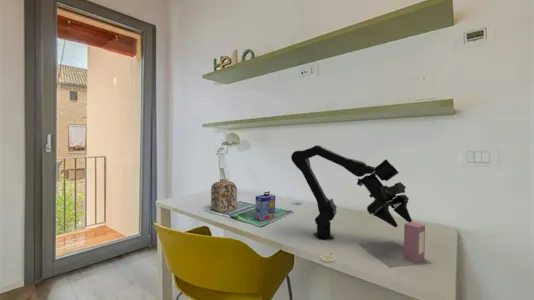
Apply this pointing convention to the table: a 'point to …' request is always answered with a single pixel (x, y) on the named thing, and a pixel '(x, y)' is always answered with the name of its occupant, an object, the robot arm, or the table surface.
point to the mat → (389, 253)
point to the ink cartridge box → (265, 207)
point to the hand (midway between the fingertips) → (404, 224)
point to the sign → (327, 258)
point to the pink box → (414, 242)
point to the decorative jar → (223, 196)
